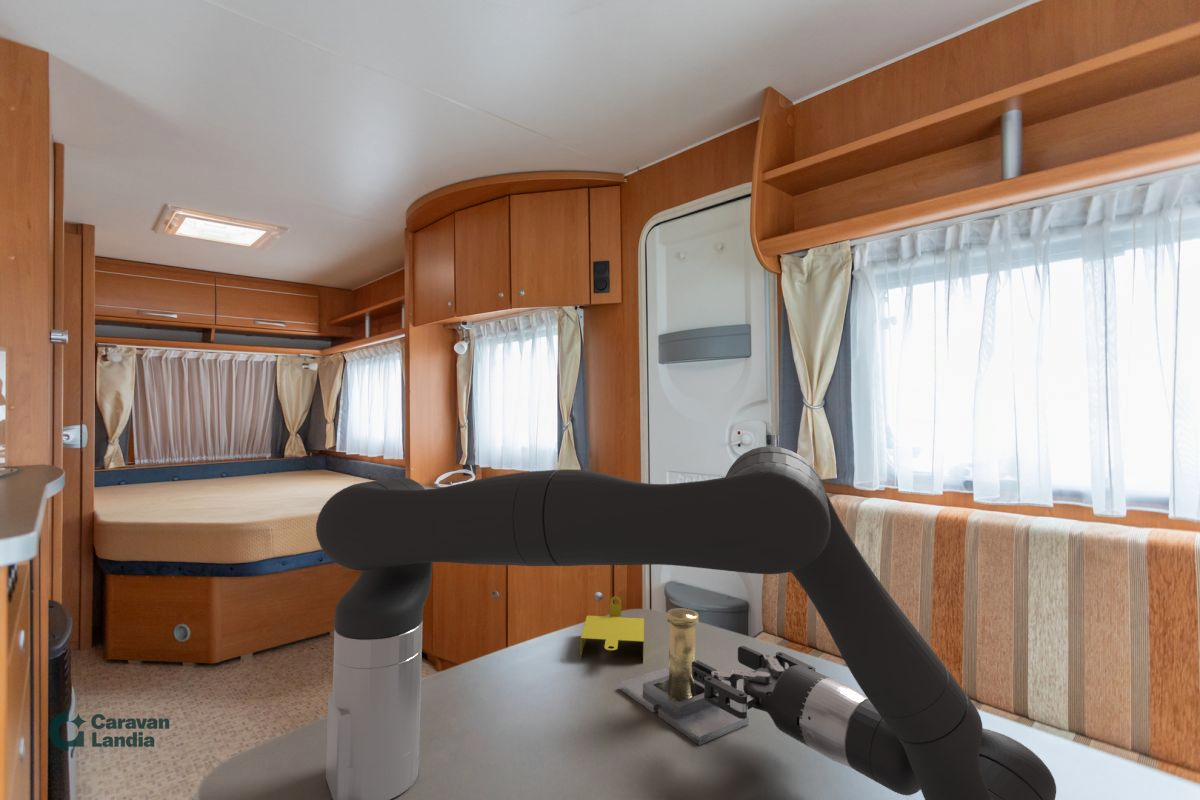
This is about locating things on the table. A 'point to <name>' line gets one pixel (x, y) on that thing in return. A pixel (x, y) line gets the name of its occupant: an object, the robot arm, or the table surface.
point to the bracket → (612, 628)
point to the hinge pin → (681, 652)
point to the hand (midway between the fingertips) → (717, 660)
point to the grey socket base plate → (682, 707)
